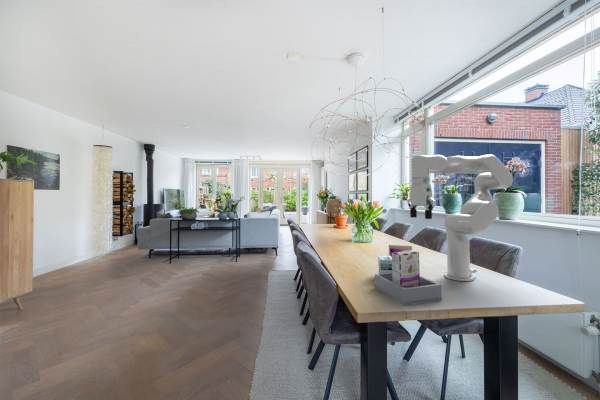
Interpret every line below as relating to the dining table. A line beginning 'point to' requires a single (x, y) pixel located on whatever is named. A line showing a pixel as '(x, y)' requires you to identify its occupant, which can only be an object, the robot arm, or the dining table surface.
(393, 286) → the tray
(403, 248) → the pink printed box
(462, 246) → the robot arm
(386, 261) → the light bulb box
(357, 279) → the dining table surface
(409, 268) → the candy bar box
